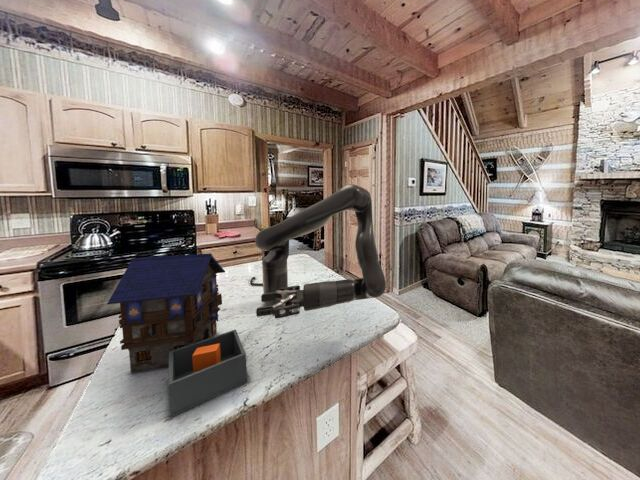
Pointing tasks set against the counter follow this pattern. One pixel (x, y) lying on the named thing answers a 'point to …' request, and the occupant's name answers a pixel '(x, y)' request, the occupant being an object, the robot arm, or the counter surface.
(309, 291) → the robot arm
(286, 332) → the counter surface
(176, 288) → the miniature building
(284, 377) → the counter surface
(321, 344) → the counter surface
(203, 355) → the block
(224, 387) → the bin
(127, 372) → the counter surface
